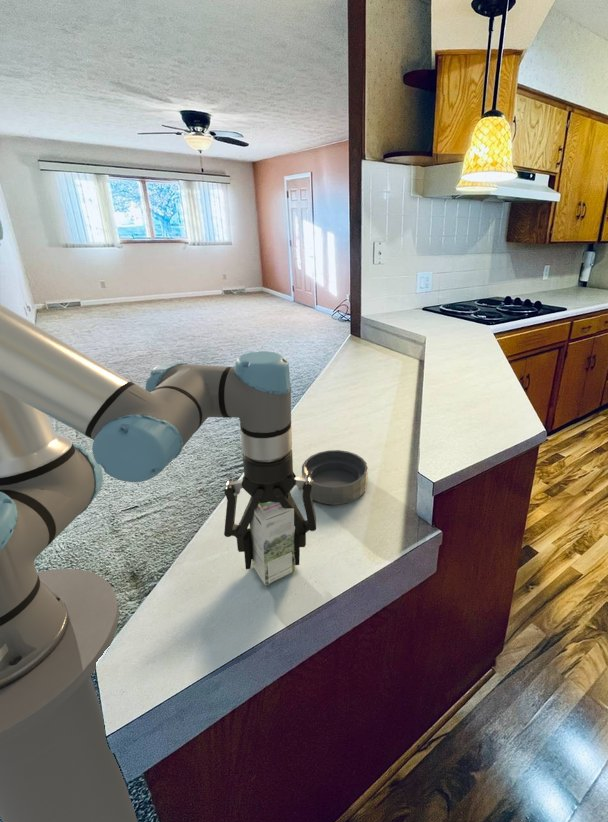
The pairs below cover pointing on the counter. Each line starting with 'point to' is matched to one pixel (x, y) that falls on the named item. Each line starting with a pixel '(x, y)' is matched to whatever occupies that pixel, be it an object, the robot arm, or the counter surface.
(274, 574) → the syrup box
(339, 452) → the bowl
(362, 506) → the counter surface
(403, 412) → the counter surface
